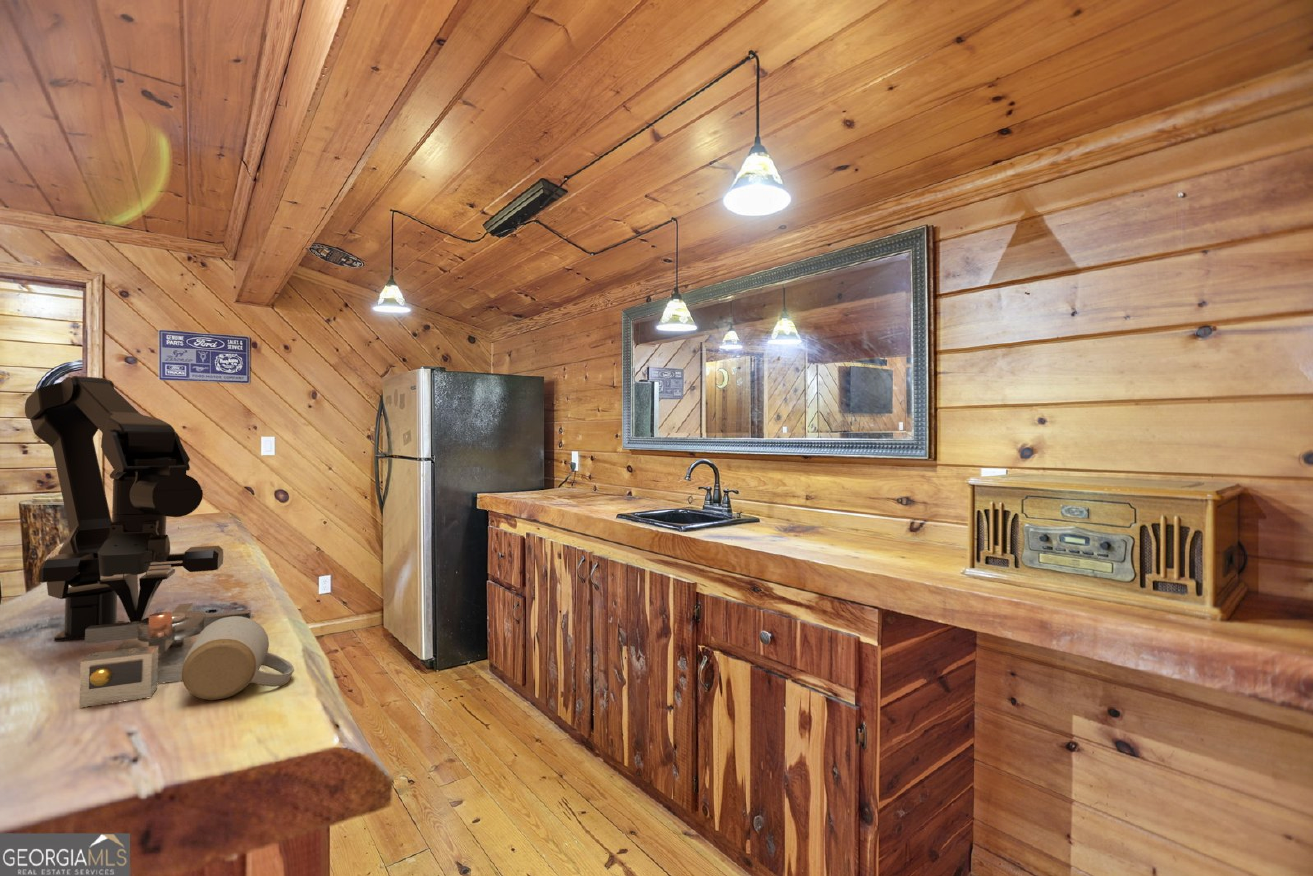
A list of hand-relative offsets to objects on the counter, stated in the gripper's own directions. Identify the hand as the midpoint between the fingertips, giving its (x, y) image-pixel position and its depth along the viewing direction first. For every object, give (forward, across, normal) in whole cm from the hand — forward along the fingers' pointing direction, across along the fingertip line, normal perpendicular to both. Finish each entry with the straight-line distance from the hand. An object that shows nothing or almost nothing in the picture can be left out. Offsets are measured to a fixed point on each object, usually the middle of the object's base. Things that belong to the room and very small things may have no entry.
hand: (136, 624), depth 83 cm
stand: (+3, +5, -10) cm, 12 cm away
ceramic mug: (+4, +14, -22) cm, 26 cm away
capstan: (0, +5, -7) cm, 9 cm away
